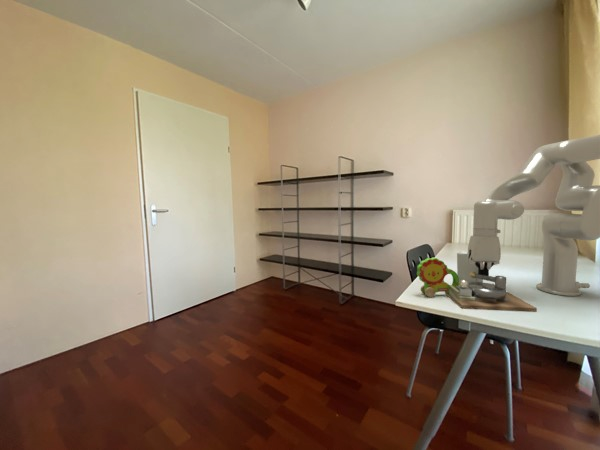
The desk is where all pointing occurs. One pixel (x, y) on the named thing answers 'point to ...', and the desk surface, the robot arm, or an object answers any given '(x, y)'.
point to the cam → (488, 286)
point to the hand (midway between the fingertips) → (483, 278)
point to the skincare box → (466, 268)
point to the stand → (489, 302)
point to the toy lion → (435, 276)
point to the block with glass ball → (464, 289)
